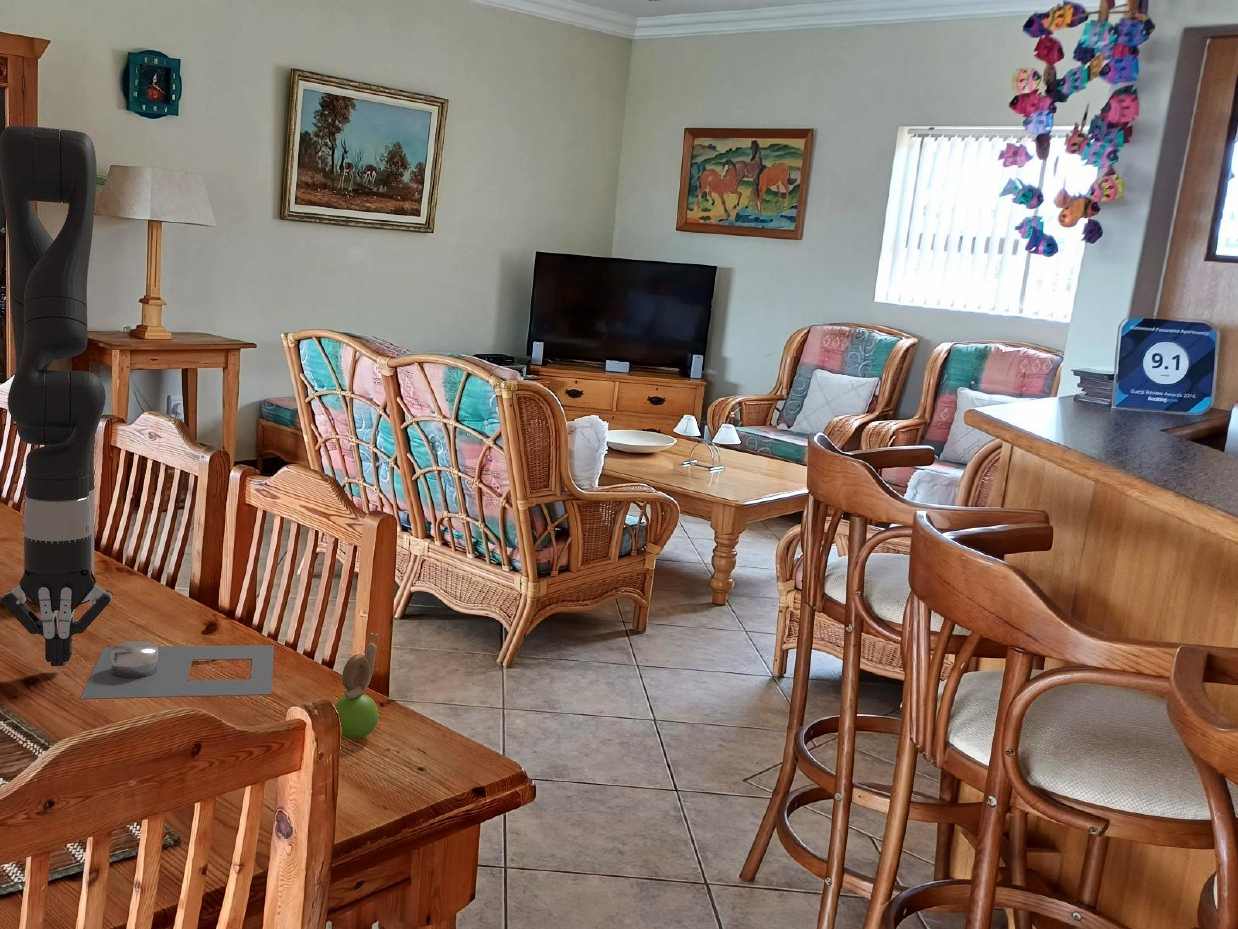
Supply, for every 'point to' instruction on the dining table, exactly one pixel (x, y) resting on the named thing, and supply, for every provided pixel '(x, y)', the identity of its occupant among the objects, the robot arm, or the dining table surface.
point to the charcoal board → (183, 674)
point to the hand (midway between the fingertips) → (58, 664)
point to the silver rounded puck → (134, 659)
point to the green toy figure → (358, 695)
